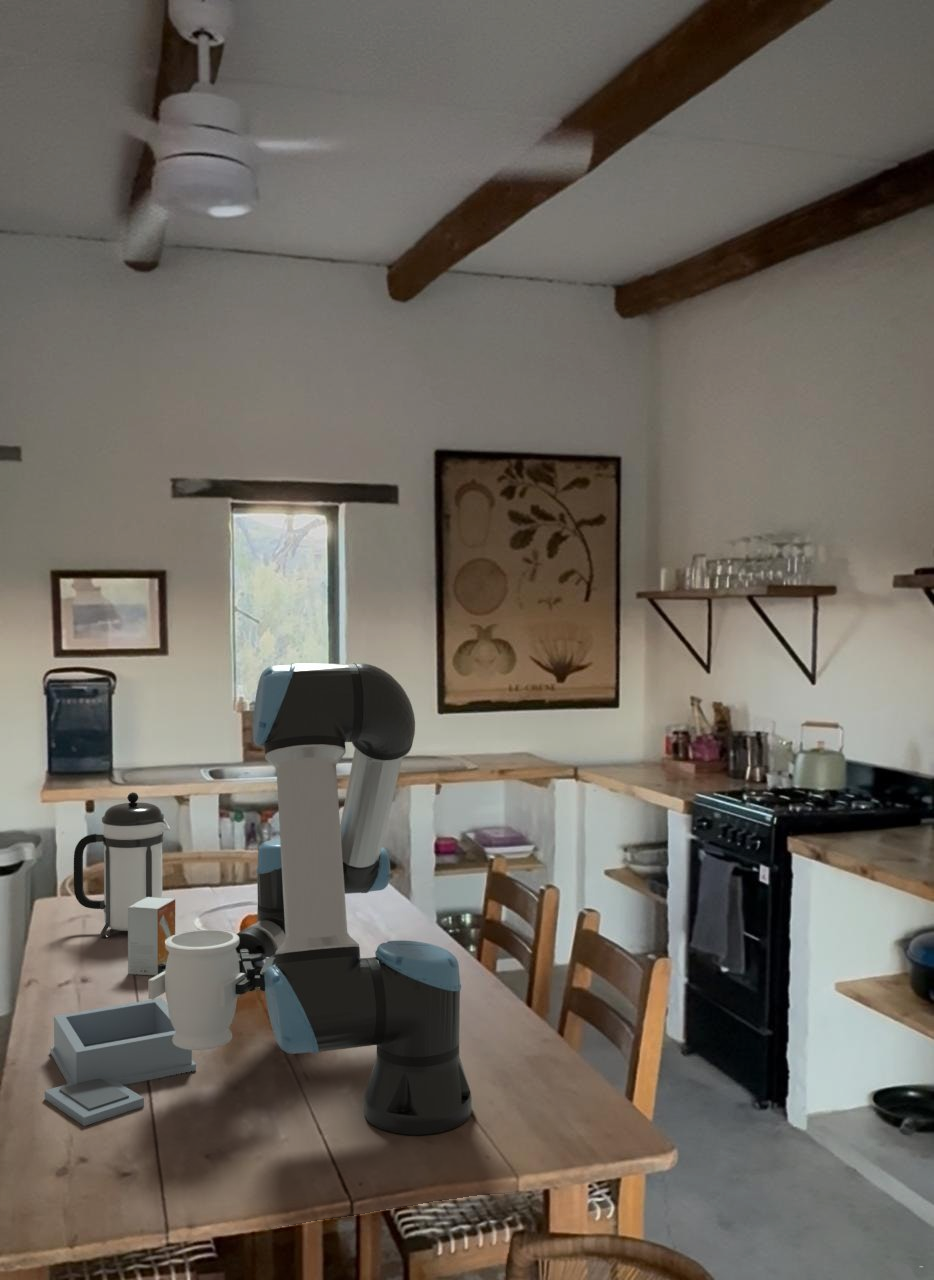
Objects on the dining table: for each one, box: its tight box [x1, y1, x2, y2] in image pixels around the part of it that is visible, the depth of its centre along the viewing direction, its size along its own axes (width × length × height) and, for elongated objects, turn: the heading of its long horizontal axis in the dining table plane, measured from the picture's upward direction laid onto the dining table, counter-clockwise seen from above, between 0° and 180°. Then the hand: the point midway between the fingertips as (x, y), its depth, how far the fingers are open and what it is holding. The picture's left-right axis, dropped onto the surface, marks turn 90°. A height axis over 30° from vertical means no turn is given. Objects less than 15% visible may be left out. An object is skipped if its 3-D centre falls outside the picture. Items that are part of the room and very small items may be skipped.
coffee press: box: [73, 792, 171, 938], centre depth 252 cm, size 17×16×30 cm
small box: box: [127, 897, 176, 977], centre depth 227 cm, size 8×6×13 cm
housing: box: [49, 997, 197, 1086], centre depth 182 cm, size 18×18×6 cm
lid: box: [44, 1078, 145, 1127], centre depth 167 cm, size 12×9×2 cm
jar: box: [165, 929, 240, 1051], centre depth 170 cm, size 11×10×15 cm
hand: (186, 992), depth 165 cm, fingers closed on jar, 10 cm apart
